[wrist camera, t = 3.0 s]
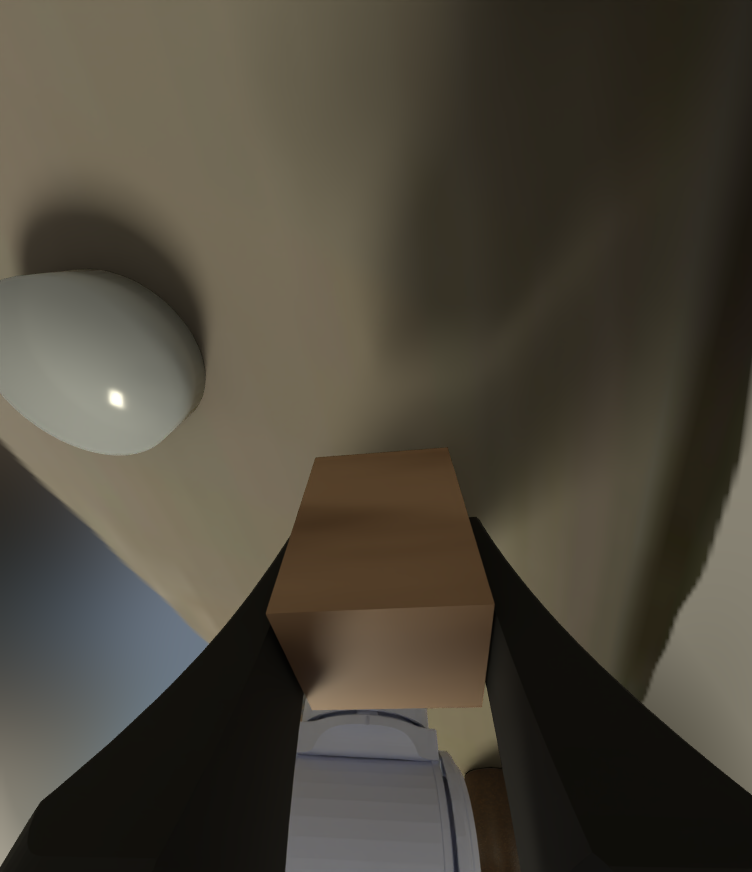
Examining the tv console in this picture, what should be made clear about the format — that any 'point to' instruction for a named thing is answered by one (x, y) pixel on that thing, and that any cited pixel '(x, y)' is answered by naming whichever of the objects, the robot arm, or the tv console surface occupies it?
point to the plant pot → (492, 820)
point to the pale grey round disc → (96, 360)
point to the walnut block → (384, 586)
